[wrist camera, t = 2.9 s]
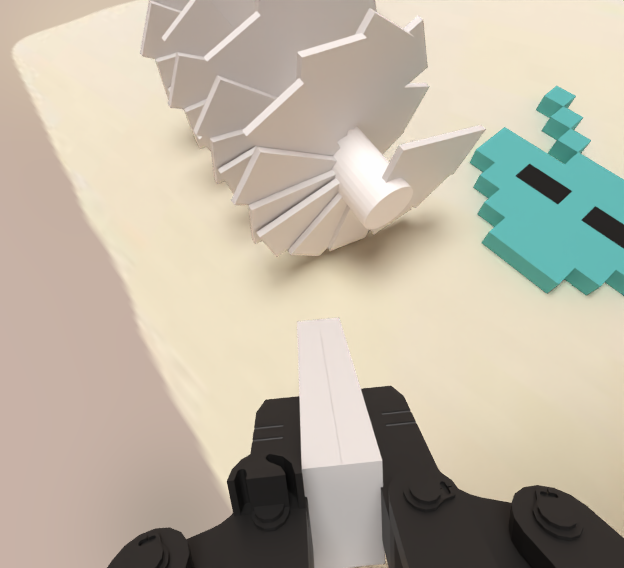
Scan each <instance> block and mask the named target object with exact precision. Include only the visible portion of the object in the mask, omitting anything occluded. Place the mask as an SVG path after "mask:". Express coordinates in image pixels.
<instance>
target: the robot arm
mask: <svg viewBox="0 0 624 568" xmlns="http://www.w3.org/2000/svg"><path fill="white" fill-rule="evenodd" d="M297 333H298V365H299V396H298V397H289V398H279V399H269V400H265V401H264V403H263V404H262V406H261V407H260V408H259V410H258V411H257V413H256V419H255V426H254V428H255V430H254V433H253V442H252V447H251V454H250V455H249V456H247V457H245V458H243V459H242V460H241V461H240V462H239V463H238V464H237V465H236V466H235V467H234V468H233V469H232V471H231V473H230V475H229V478H228V480H227V484H228V489H229V494H230V499H231V504H232V509H233V514H232V515H231V516H230V517H229V518H227V519H226V520H225V521H224V522H222V523H221V524H219V525H218V526H215V527H214V528H212V529H210V530H207V531H205V532H203V533H200V534H198V535H196V536H193V537H191V538H189V539H185V537H184V536H183V534H182V533H181V532H179V531H177V530H174V529H172V528H158V529H153V530H151V531H148V532H146V533H143V534H141V535H139V536H137V537H136V538H135V539H134V540H132V541H131V542H129V543H128V544H127V545H126V546H124V547H123V549H122V550H121V551H120V552H119V553H118V554H117V555H116V557H115V558H114V559H113V560H112V562H111V563H110V565H109V566H108V567H107V568H351V567H360V566H369V565H377V564H385V554H386V558H387V562H388V567H389V568H624V538H623V537H622V536H620V535H619V534H618V533H617V532H616V531H615V530H614V529H612V528H611V527H610V526H609V525H608V524H607V523H606V522H604V521H603V520H602V519H601V518H600V517H599V516H597V515H596V514H595V513H594V512H593V511H592V510H591V509H589V508H588V507H587V506H586V505H584V504H583V503H581V502H580V501H579V500H577V499H576V498H574V497H573V496H571V495H569V494H567V493H565V492H562V491H560V490H557V489H555V488H551V487H545V486H539V485H536V486H529V487H524V488H522V489H521V490H519V491H518V492H517V493H515V495H514V498H513V500H512V503H508V502H503V501H497V500H492V499H486V498H481V497H477V496H474V495H470V494H468V493H466V492H464V491H462V490H459V489H458V488H457V486H456V485H455V484H454V482H453V481H452V480H451V479H449V478H448V477H447V476H445V475H444V474H442V473H441V472H440V471H439V469H438V468H437V465H436V463H435V461H434V459H433V457H432V455H431V453H430V451H429V449H428V446H427V444H426V442H425V440H424V438H423V436H422V434H421V432H420V430H419V427H418V425H417V424H416V422H415V419H414V417H413V415H412V413H411V412H410V408H409V406H408V404H407V402H406V400H405V398H404V396H403V395H402V394H400V393H399V392H398V391H397V390H396V389H394V388H393V387H392V386H384V387H374V388H364V389H361V388H360V385H359V381H358V378H357V375H356V371H355V368H354V365H353V361H352V358H351V355H350V351H349V348H348V345H347V341H346V338H345V335H344V331H343V328H342V325H341V321H340V318H339V317H337V318H327V319H317V320H307V321H297Z"/></svg>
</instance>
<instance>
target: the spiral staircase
mask: <svg viewBox="0 0 624 568" xmlns="http://www.w3.org/2000/svg"><path fill="white" fill-rule="evenodd" d="M140 54H141V55H142V56H144V57H148V58H152V59H155V61H156V64H157V67H158V70H159V73H160V76H161V79H162V82H163V85H164V88H165V91H166V94H167V97H168V100H169V101H168V105H169V106H170V108H179V109H183V110H184V112H185V114H186V117H187V119H188V122H189V124H190V127H191V129H192V132H193V134H194V137H195V139H196V142H197V144H198V146H199V148H200V149H202V148H204V147H207V148H208V149H209V150H210V151H211V153H212V162H213V171H214V179H215V181H216V183H217V184H218V183H222V182H226V183H227V185H228V186H229V188H230V190H231V191H232V193H233V197H232V199H231V201H232V202H233V204H234V205H248V208H249V217H250V225H251V233H252V240H253V241H254V243H255V244H256V243H259V242H261V241H263V242H264V243H265V244H266V245H267V247H268V248H269V249H270V250H271V251H272V252H273V254H274V255H275V256H276V257H278V256H279V255H281V254H282V253H284V252H285V251H286V250H288V252H289V253H290V255H307V256H320V255H321V254H322V253H323V252H324V251H325V250H326V249H327V248H328V249H329V251H332V250H334V249H337V248H340V247H342V246H345V245H347V244H350V243H352V242H355V241H358V240H360V239H363V238H365V237H366V235H367V233H368V231H369V230H370V231H371V232H372V233H373V235H374V234H376V233H377V232H378V231H380V230H381V229H383V228H384V227H386V226H387V225H389V224H390V223H392V222H393V221H395V220H396V219H398V218H399V217H401V216H402V215H404V214H405V213H407V212H408V211H410V210H411V208H412V207H414V208H416V207H417V206H418V205H419V204H420V203H421V202H422V201H423V200H424V199H425V198H426V197H428V196H429V195H430V194H431V193H432V192H433V191H434V190H435V189H436V188H437V187H438V186H439V185H440V184H441V183H442V182H443V181H444V180H445V179H446V178H447V177H448V176H449V175H451V174H454V172H455V171H456V170H457V168H458V167H459V166H460V164H461V163H462V161H463V160H464V159H465V157H466V156H467V155H468V153H469V152H470V150H471V149H472V148H473V146H474V145H475V144H476V142H477V141H478V139H479V138H480V137H481V135H482V134H483V133H484V131H485V130H486V129H485V128H484V127H483V126H482V125H478V126H474V127H470V128H466V129H462V130H457V131H453V132H449V133H445V134H441V135H437V136H433V137H429V138H425V139H421V140H417V141H412V142H409V143H405V144H401V145H398V147H397V149H396V151H395V153H394V155H393V157H392V159H391V161H390V163H389V162H388V161H387V159H386V158H385V157H384V156H383V153H384V152H385V151H386V150H387V149H388V148H389V147H390V146H391V145H392V144H393V143H394V142H395V141H396V140H397V139H398V138H399V137H400V136H401V135H402V134H403V133H404V130H405V128H406V127H407V125H408V123H409V121H410V120H411V118H412V116H413V114H414V113H415V111H416V109H417V108H418V106H419V104H420V102H421V101H422V99H423V97H424V95H425V94H426V92H427V90H428V88H429V87H430V86H429V85H428V84H427V83H410V82H411V81H412V80H413V79H415V78H416V77H417V76H418V75H419V74H420V73H422V72H423V71H424V70H425V69H426V68H427V67H428V66H427V55H426V44H425V34H424V23H423V19H422V18H421V17H420V16H419V15H418V16H417V17H415V18H414V19H413V20H412V21H411V22H410V23H409V24H408V25H407V26H405V27H404V28H401V27H400V26H398V25H396V24H395V23H393V22H392V21H390V20H388V19H387V18H385V17H384V16H382V15H380V14H379V13H377V11H376V4H375V0H149V4H148V10H147V16H146V21H145V27H144V33H143V39H142V45H141V50H140Z"/></svg>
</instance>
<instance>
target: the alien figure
mask: <svg viewBox="0 0 624 568" xmlns="http://www.w3.org/2000/svg"><path fill="white" fill-rule="evenodd" d="M575 97H576V96H575V95H573V94H571V93H569V92H567V91H566V90H564V89H562V88H560V87H558V86H556V87H555V88H553V89H552V90H551V91H550V92H548V93H547V94H546V95H545V96H544V97H543V99H542V100H541V102H540V104H539V106H538V107H537V109H536V110H537V111H539V112H540V113H542V114H544V115H545V116H547V117H549V118H550V119H549V120H548V122H547V123H546V125H545V126H544V128H543V129H542V131H543V132H544V133H546V134H548V135H549V136H551V137H553V138H554V139H556V140H557V141H556V142H555V144H554V145H553V147H552V148H551V149H550V151H549V152H548V154H547V153H545V152H544V151H542V150H541V149H539V148H537V147H536V146H534V145H533V144H531V143H529V142H528V141H526V140H525V139H523V138H521V137H520V136H518V135H517V134H515V133H513V132H512V131H510V130H508V129H507V128H505V127H504V128H503V129H502V130H500V131H499V132H498V133H497V134H495V135H494V136H493V137H491V138H490V139H489V140H488V141H486V142H485V143H484V144H483V145H481V146H480V147H479V148H478V149H476V151H475V153H474V155H473V157H472V159H471V161H470V163H471V164H472V165H473V166H475V167H476V168H478V169H479V170H481V171H482V172H483V173H482V174H481V175H480V176H479V178H478V180H477V182H476V183H475V185H474V187H473V188H475V189H476V190H478V191H479V192H480V193H482V194H483V195H484V196H486V197H487V198H489V199H488V200H486V201H485V202H484V204H483V205H482V207H481V209H480V210H479V212H478V215H479V216H481V217H482V218H483V219H485V220H486V221H487V222H489V223H490V224H491V225H493V226H494V228H493V229H492V230H491V231H490V232H489V233H488V234H487V236H486V237H485V239H484V240H483V241H482V244H484V245H485V246H486V247H488V248H489V249H490V250H491V251H493V252H494V253H495V254H497V255H498V256H499V257H500V258H502V259H503V260H504V261H506V262H507V263H508V264H509V265H511V266H512V267H513V268H515V269H516V270H517V271H518V272H520V273H521V274H522V275H524V276H525V277H526V278H527V279H529V280H530V281H531V282H533V283H534V284H535V285H536V286H538V287H539V288H540V289H542V290H543V291H544V292H545V293H548V292H549V291H551V290H552V289H553V288H555V287H556V286H557V285H559V284H560V283H561V282H562V280H563V279H565V280H566V281H568V282H569V283H570V284H572V285H573V286H574V287H576V288H577V289H578V290H580V291H581V292H582V293H584V294H585V295H588V294H589V293H591V292H592V291H594V290H596V289H597V288H599V287H600V286H601V285H602V284H603V283H604V282H605V283H607V284H608V285H610V286H611V287H612V288H614V289H615V290H617V291H618V292H619V293H621V294H622V295H623V296H624V180H623V179H622V178H620V177H618V176H617V175H615V174H613V173H612V172H610V171H609V170H607V169H605V168H604V167H602V166H600V165H599V164H597V163H595V162H594V161H592V160H590V159H589V158H587V157H585V156H584V155H582V154H581V153H582V151H583V150H584V149H585V148H586V146H587V145H588V144H589V143H590V142H591V140H590V139H588V138H586V137H584V136H583V135H581V134H579V133H578V132H576V131H574V129H575V128H576V127H577V125H578V124H579V123H580V121H581V120H582V119H583V117H582V116H580V115H578V114H576V113H574V112H573V111H571V110H569V109H567V108H568V107H569V106H570V104H571V103H572V101H573V100H574V98H575ZM549 154H550V155H551V156H550V155H549ZM552 156H553V157H554V158H553V157H552ZM555 158H556V159H555ZM557 159H558V160H559V161H558V160H557ZM560 161H561V162H562V163H561V162H560ZM563 163H564V164H563Z"/></svg>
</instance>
